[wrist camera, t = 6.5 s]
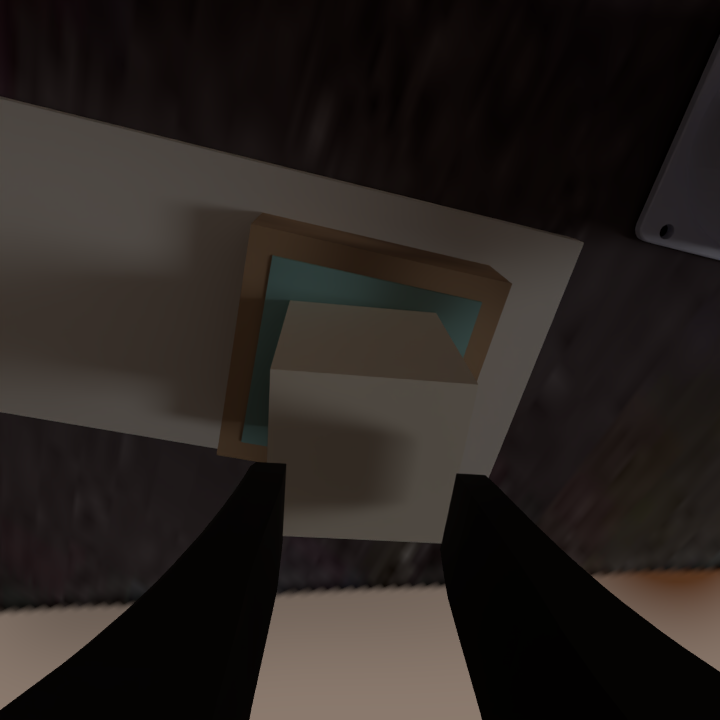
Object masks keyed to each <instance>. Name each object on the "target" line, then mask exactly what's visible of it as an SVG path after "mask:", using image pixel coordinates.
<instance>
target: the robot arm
mask: <svg viewBox="0 0 720 720" xmlns="http://www.w3.org/2000/svg"><path fill="white" fill-rule="evenodd" d="M666 224H667V227H668V229H667V232H666V234H665V235H664V236H662V237H660V230H661V228H662V227H663V226H665V225H666ZM635 233H636V236H637V237H638V239H640V240H642V241H645V242H649V243H653V244H657V245H661V246H664V247H668V248H672V249H676V250H680V251H684V252H688V253H692V254H696V255H700V256H704V257H708V258H712V259H716V260H720V35H719V37H718V40H717V42H716V44H715V46H714V49H713V51H712V53H711V55H710V58H709V60H708V62H707V65H706V67H705V69H704V71H703V74H702V76H701V78H700V80H699V83H698V85H697V87H696V90H695V92H694V94H693V96H692V99H691V101H690V103H689V105H688V108H687V110H686V112H685V115H684V117H683V119H682V121H681V124H680V126H679V128H678V130H677V133H676V135H675V137H674V140H673V142H672V144H671V146H670V149H669V151H668V153H667V155H666V158H665V160H664V162H663V164H662V167H661V169H660V171H659V174H658V176H657V178H656V180H655V183H654V185H653V187H652V189H651V192H650V194H649V196H648V199H647V201H646V203H645V205H644V208H643V210H642V212H641V214H640V217H639V219H638V221H637V224H636V227H635ZM285 483H286V464H284V463H267V462H255V463H254V464H253V465H251V466H250V468H249V469H248V471H247V473H246V475H245V476H244V478H243V479H242V481H241V482H240V484H239V485H238V487H237V488H236V489H235V491H234V492H233V494H232V495H231V496H230V498H229V499H228V500H227V502H226V503H225V505H224V506H223V507H222V508H221V510H220V511H219V512H218V513H217V515H216V516H215V517H214V518H213V520H212V521H211V522H210V523H209V525H208V526H207V527H206V528H205V530H204V531H203V532H202V533H201V534H200V536H199V537H198V538H197V539H196V540H195V541H194V542H193V543H192V544H191V546H190V547H189V548H188V549H187V550H186V551H185V552H184V553H183V554H182V555H181V557H180V558H179V559H178V560H177V561H176V562H175V563H174V564H173V565H172V566H171V567H170V569H169V570H168V571H167V572H166V573H165V574H164V575H163V576H162V577H161V578H160V579H159V580H158V581H157V582H156V583H155V584H154V585H153V586H152V587H151V588H150V589H149V590H148V591H146V592H145V593H144V594H143V595H142V596H141V597H140V598H139V599H138V600H137V601H136V602H135V603H134V604H133V605H132V606H130V607H129V608H128V609H127V610H126V611H125V612H124V613H123V614H122V615H121V616H119V617H118V618H117V619H116V620H115V621H114V622H112V623H111V624H110V625H109V626H108V627H106V628H105V629H104V630H103V631H102V632H101V633H100V634H98V635H97V636H96V637H95V638H94V639H93V640H91V641H90V642H89V643H88V644H87V645H85V646H84V647H83V648H82V649H80V650H79V651H78V652H77V653H76V654H74V655H73V656H72V657H71V658H69V659H68V660H67V661H66V662H64V663H63V664H62V665H60V666H59V667H58V668H56V669H55V670H54V671H52V672H51V673H50V674H48V675H47V676H45V677H44V678H43V679H42V680H40V681H39V682H37V683H36V684H35V685H33V686H32V687H31V688H29V689H28V690H27V691H25V692H24V693H23V694H21V695H20V696H19V697H17V698H16V699H15V700H13V701H12V702H11V703H9V704H8V705H7V706H5V707H4V708H2V709H1V710H0V720H249V719H250V713H251V707H252V703H253V699H254V693H255V689H256V685H257V680H258V676H259V671H260V666H261V662H262V657H263V653H264V648H265V644H266V639H267V634H268V629H269V625H270V620H271V616H272V611H273V607H274V602H275V597H276V593H277V586H278V577H279V569H280V560H281V551H282V541H283V522H284V502H285ZM440 551H441V558H442V565H443V571H444V578H445V584H446V590H447V596H448V600H449V603H450V607H451V610H452V615H453V618H454V622H455V625H456V629H457V633H458V636H459V640H460V643H461V647H462V650H463V653H464V657H465V660H466V664H467V668H468V671H469V675H470V678H471V682H472V685H473V689H474V692H475V695H476V699H477V703H478V706H479V710H480V713H481V717H482V720H720V672H719V671H718V670H716V669H715V668H713V667H712V666H710V665H709V664H707V663H706V662H704V661H703V660H701V659H700V658H698V657H697V656H696V655H694V654H693V653H691V652H690V651H688V650H687V649H685V648H684V647H682V646H681V645H679V644H678V643H677V642H675V641H674V640H672V639H671V638H670V637H668V636H667V635H665V634H664V633H663V632H661V631H660V630H659V629H657V628H656V627H655V626H653V625H652V624H651V623H649V622H648V621H647V620H645V619H644V618H643V617H641V616H640V615H639V614H637V613H636V612H635V611H633V610H632V609H631V608H630V607H628V606H627V605H626V604H624V603H623V602H622V601H621V600H619V599H618V598H617V597H616V596H614V595H613V594H612V593H611V592H610V591H608V590H607V589H606V588H605V587H603V586H602V585H601V584H600V583H599V582H598V581H597V580H595V579H594V578H593V577H592V576H591V575H590V574H588V573H587V572H586V571H585V570H584V569H583V568H582V567H580V566H579V565H578V564H577V563H576V562H575V561H574V560H572V559H571V558H570V557H569V556H568V555H567V554H566V553H565V552H564V551H563V550H562V549H560V548H559V547H558V546H557V545H556V544H555V543H554V542H553V541H552V540H551V539H550V538H549V537H548V536H547V535H546V534H545V533H544V532H543V531H542V530H540V529H539V528H538V527H537V526H536V525H535V524H534V523H533V522H532V521H531V520H530V519H529V518H528V517H527V516H526V515H525V514H524V513H523V512H522V511H521V510H520V509H519V508H518V507H517V506H516V505H515V504H514V503H513V502H512V501H511V500H510V499H509V498H508V497H507V496H506V495H505V494H504V493H503V492H502V491H501V490H500V489H499V488H498V487H497V486H496V485H495V484H494V483H493V482H492V481H491V480H490V479H489V478H488V477H487V476H486V475H477V474H460V473H456V478H455V483H454V487H453V492H452V497H451V501H450V506H449V511H448V515H447V520H446V525H445V529H444V534H443V539H442V543H441V548H440Z"/></svg>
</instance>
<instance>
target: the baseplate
mask: <svg viewBox="0 0 720 720" xmlns="http://www.w3.org/2000/svg"><path fill="white" fill-rule="evenodd" d="M262 213H267V214H272V215H276V216H280V217H284V218H289V219H293V220H297V221H302V222H306V223H310V224H314V225H319V226H323V227H327V228H332V229H336V230H340V231H344V232H349V233H353V234H357V235H362V236H366V237H370V238H374V239H379V240H383V241H387V242H391V243H396V244H400V245H404V246H409V247H413V248H417V249H421V250H426V251H430V252H434V253H439V254H443V255H447V256H451V257H456V258H460V259H464V260H469V261H473V262H477V263H481V264H486V265H489V266H491V267H492V268H493V269H494V270H496V271H497V272H498V273H499V274H501V275H502V276H503V277H504V278H506V279H507V280H508V281H509V282H511V283H512V286H511V289H510V291H509V294H508V297H507V300H506V302H505V305H504V308H503V311H502V313H501V316H500V319H499V322H498V325H497V327H496V330H495V333H494V336H493V338H492V341H491V344H490V347H489V349H488V352H487V355H486V358H485V360H484V363H483V366H482V369H481V371H480V374H479V377H478V380H477V383H478V389H477V393H476V398H475V402H474V407H473V411H472V416H471V421H470V425H469V430H468V434H467V439H466V443H465V448H464V452H463V457H462V462H461V466H460V471H459V473H460V474H477V475H486V476H487V477H488V478H489V475H490V473H491V470H492V468H493V465H494V463H495V461H496V458H497V456H498V453H499V451H500V448H501V446H502V443H503V441H504V438H505V436H506V433H507V431H508V429H509V426H510V424H511V421H512V419H513V416H514V414H515V411H516V409H517V406H518V404H519V401H520V399H521V397H522V394H523V392H524V389H525V387H526V384H527V382H528V379H529V377H530V374H531V372H532V369H533V367H534V365H535V362H536V360H537V357H538V355H539V352H540V350H541V347H542V345H543V342H544V340H545V337H546V335H547V333H548V330H549V328H550V325H551V323H552V320H553V318H554V315H555V313H556V310H557V308H558V305H559V303H560V301H561V298H562V296H563V293H564V291H565V288H566V286H567V283H568V281H569V278H570V276H571V273H572V271H573V269H574V266H575V264H576V261H577V259H578V256H579V254H580V251H581V249H582V246H583V244H584V242H581V241H579V240H577V239H574V238H572V237H567V236H563V235H559V234H555V233H551V232H547V231H543V230H539V229H535V228H531V227H527V226H523V225H519V224H515V223H511V222H507V221H503V220H499V219H495V218H491V217H487V216H482V215H478V214H474V213H470V212H466V211H462V210H458V209H454V208H450V207H446V206H442V205H438V204H434V203H430V202H426V201H422V200H418V199H414V198H410V197H406V196H402V195H398V194H393V193H389V192H385V191H381V190H377V189H373V188H369V187H365V186H361V185H357V184H353V183H349V182H345V181H341V180H337V179H333V178H329V177H325V176H321V175H317V174H313V173H308V172H304V171H300V170H296V169H292V168H288V167H284V166H280V165H276V164H272V163H268V162H264V161H260V160H256V159H252V158H248V157H244V156H240V155H236V154H232V153H228V152H223V151H219V150H215V149H211V148H207V147H203V146H199V145H195V144H191V143H187V142H183V141H179V140H175V139H171V138H167V137H163V136H159V135H155V134H151V133H147V132H143V131H139V130H134V129H130V128H126V127H122V126H118V125H114V124H110V123H106V122H102V121H98V120H94V119H90V118H86V117H82V116H78V115H74V114H70V113H66V112H62V111H58V110H54V109H49V108H45V107H41V106H37V105H33V104H29V103H25V102H21V101H17V100H13V99H9V98H5V97H1V96H0V412H3V413H9V414H15V415H21V416H27V417H33V418H39V419H45V420H51V421H57V422H63V423H68V424H74V425H80V426H86V427H92V428H98V429H104V430H110V431H116V432H122V433H128V434H134V435H140V436H145V437H151V438H157V439H163V440H169V441H175V442H181V443H187V444H193V445H199V446H205V447H211V448H217V449H218V443H219V437H220V430H221V423H222V416H223V409H224V403H225V396H226V389H227V382H228V376H229V369H230V362H231V355H232V349H233V342H234V335H235V328H236V322H237V315H238V308H239V301H240V295H241V288H242V281H243V274H244V267H245V261H246V254H247V247H248V240H249V234H250V227H251V223H252V222H253V221H254V220H255V219H256V218H257V217H258V216H259V215H260V214H262Z"/></svg>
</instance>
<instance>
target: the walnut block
mask: <svg viewBox="0 0 720 720" xmlns="http://www.w3.org/2000/svg"><path fill="white" fill-rule="evenodd" d="M511 286H512V283H511V282H509V281H508V280H507V279H506V278H504V277H503V276H502V275H501V274H499V273H498V272H497V271H496V270H494V269H493V268H492V267H491V266H489V265H486V264H481V263H477V262H473V261H469V260H464V259H460V258H456V257H451V256H447V255H443V254H439V253H434V252H430V251H426V250H421V249H417V248H413V247H409V246H404V245H400V244H396V243H391V242H387V241H383V240H379V239H374V238H370V237H366V236H362V235H357V234H353V233H349V232H344V231H340V230H336V229H332V228H327V227H323V226H319V225H314V224H310V223H306V222H302V221H297V220H293V219H289V218H284V217H280V216H276V215H272V214H267V213H262V214H260V215H259V216H258V217H257V218H256V219H255V220H254V221H253V222H252V223H251V227H250V234H249V240H248V247H247V254H246V261H245V267H244V274H243V281H242V288H241V295H240V301H239V308H238V315H237V322H236V328H235V335H234V342H233V349H232V355H231V362H230V369H229V376H228V382H227V389H226V396H225V403H224V409H223V416H222V423H221V430H220V437H219V443H218V450H217V455H220V456H226V457H232V458H238V459H244V460H250V461H256V462H267V446H268V419H269V391H270V368H271V365H272V361H273V358H274V354H275V351H276V347H277V344H278V340H279V337H280V333H281V330H282V326H283V323H284V319H285V316H286V312H287V309H288V305H289V302H290V300H292V301H303V302H315V303H327V304H338V305H350V306H362V307H373V308H385V309H397V310H408V311H420V312H431V313H436V314H437V315H438V317H439V319H440V320H441V322H442V324H443V325H444V327H445V329H446V331H447V332H448V334H449V336H450V337H451V339H452V341H453V342H454V344H455V346H456V348H457V349H458V351H459V353H460V354H461V356H462V358H463V359H464V361H465V363H466V364H467V366H468V368H469V370H470V371H471V373H472V375H473V376H474V378H475V380H476V381H477V380H478V377H479V374H480V371H481V369H482V366H483V363H484V360H485V358H486V355H487V352H488V349H489V347H490V344H491V341H492V338H493V336H494V333H495V330H496V327H497V325H498V322H499V319H500V316H501V313H502V311H503V308H504V305H505V302H506V300H507V297H508V294H509V291H510V289H511Z"/></svg>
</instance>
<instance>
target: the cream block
mask: <svg viewBox="0 0 720 720" xmlns="http://www.w3.org/2000/svg"><path fill="white" fill-rule="evenodd" d="M477 389H478V383H477V381H476V380H475V378H474V376H473V375H472V373H471V371H470V370H469V368H468V366H467V364H466V363H465V361H464V359H463V358H462V356H461V354H460V353H459V351H458V349H457V348H456V346H455V344H454V342H453V341H452V339H451V337H450V336H449V334H448V332H447V331H446V329H445V327H444V325H443V324H442V322H441V320H440V319H439V317H438V315H437V314H436V313H431V312H420V311H408V310H397V309H385V308H373V307H362V306H350V305H338V304H327V303H315V302H303V301H292V300H290V302H289V305H288V309H287V312H286V316H285V319H284V323H283V326H282V330H281V333H280V337H279V340H278V344H277V347H276V351H275V354H274V358H273V361H272V365H271V368H270V391H269V419H268V446H267V463H284V464H286V483H285V502H284V522H283V536H297V537H318V538H339V539H361V540H382V541H403V542H424V543H442V539H443V534H444V529H445V525H446V520H447V515H448V511H449V506H450V501H451V497H452V492H453V487H454V483H455V478H456V473H459V471H460V466H461V462H462V457H463V452H464V448H465V443H466V439H467V434H468V430H469V425H470V421H471V416H472V411H473V407H474V402H475V398H476V393H477Z"/></svg>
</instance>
